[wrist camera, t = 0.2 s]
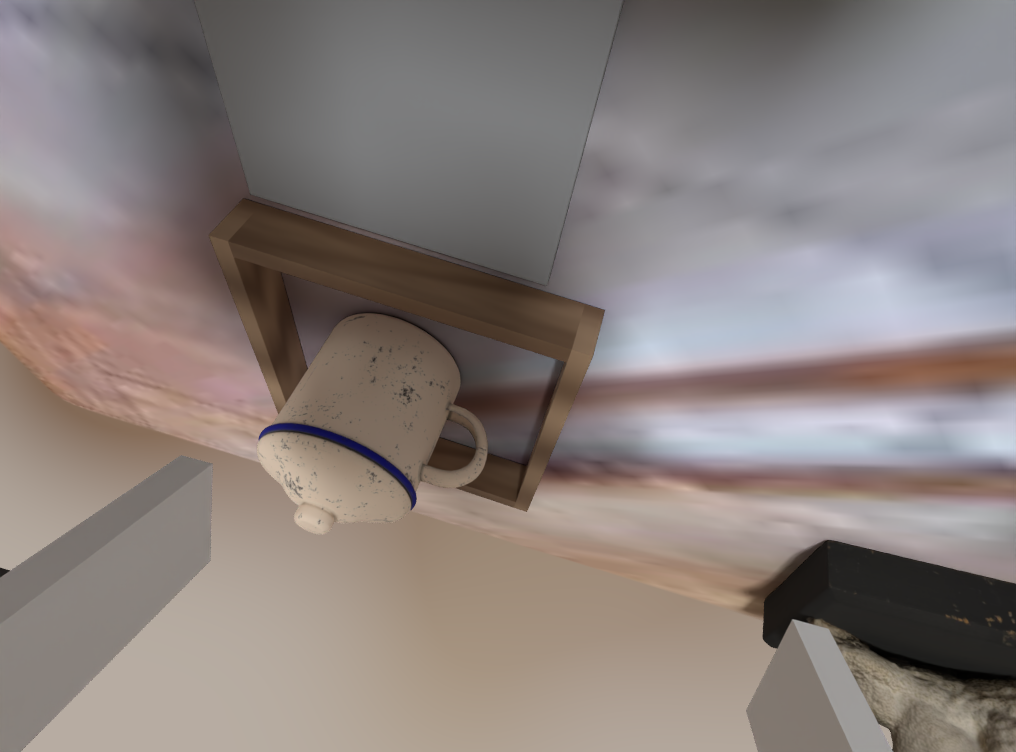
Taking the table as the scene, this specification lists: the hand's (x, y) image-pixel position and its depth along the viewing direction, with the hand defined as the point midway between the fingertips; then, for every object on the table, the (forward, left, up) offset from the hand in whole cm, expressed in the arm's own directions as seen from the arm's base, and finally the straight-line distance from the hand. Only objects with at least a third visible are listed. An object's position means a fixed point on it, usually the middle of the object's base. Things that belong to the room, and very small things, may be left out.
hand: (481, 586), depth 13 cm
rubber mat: (-2, -9, -16) cm, 18 cm away
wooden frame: (+16, -8, -16) cm, 24 cm away
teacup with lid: (+16, -8, -16) cm, 24 cm away
